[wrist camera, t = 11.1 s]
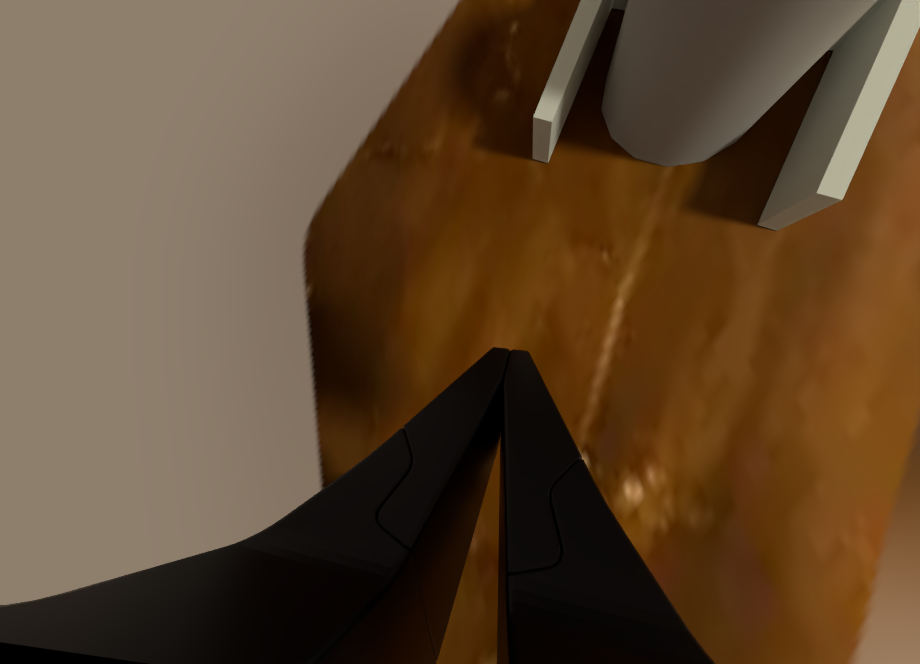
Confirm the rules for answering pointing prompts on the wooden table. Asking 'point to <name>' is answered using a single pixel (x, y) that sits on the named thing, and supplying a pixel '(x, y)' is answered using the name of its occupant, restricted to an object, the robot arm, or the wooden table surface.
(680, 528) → the wooden table surface
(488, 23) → the wooden table surface
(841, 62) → the u-shaped wall frame
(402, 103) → the wooden table surface
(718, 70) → the cup
